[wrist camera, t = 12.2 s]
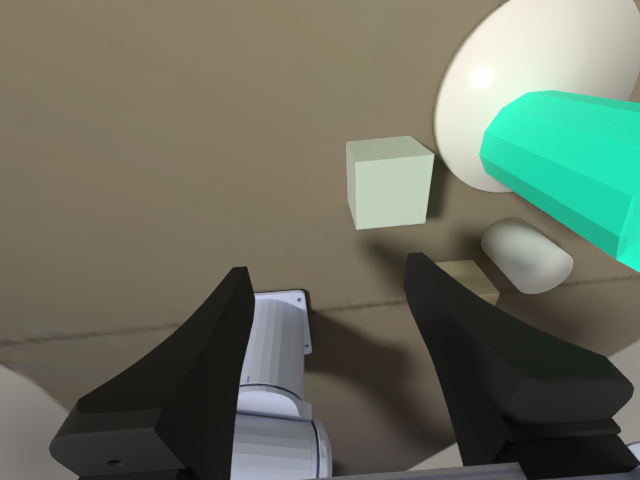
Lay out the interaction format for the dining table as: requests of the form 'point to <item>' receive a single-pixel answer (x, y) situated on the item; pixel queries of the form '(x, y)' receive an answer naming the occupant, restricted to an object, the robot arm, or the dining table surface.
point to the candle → (573, 164)
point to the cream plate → (531, 69)
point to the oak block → (471, 278)
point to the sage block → (388, 181)
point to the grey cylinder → (526, 256)
